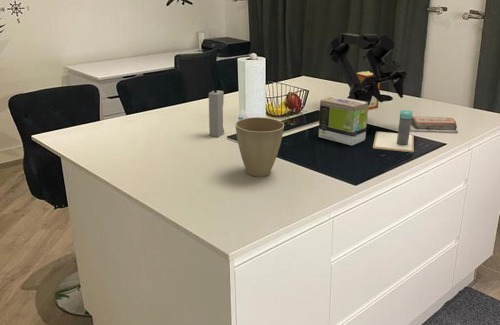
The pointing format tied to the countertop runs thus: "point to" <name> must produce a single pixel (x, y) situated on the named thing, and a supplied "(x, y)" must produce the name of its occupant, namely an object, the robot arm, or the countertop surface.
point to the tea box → (343, 120)
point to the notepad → (392, 142)
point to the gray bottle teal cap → (404, 127)
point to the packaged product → (433, 124)
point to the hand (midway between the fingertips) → (392, 99)
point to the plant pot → (259, 143)
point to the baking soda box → (373, 101)
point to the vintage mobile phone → (216, 111)
